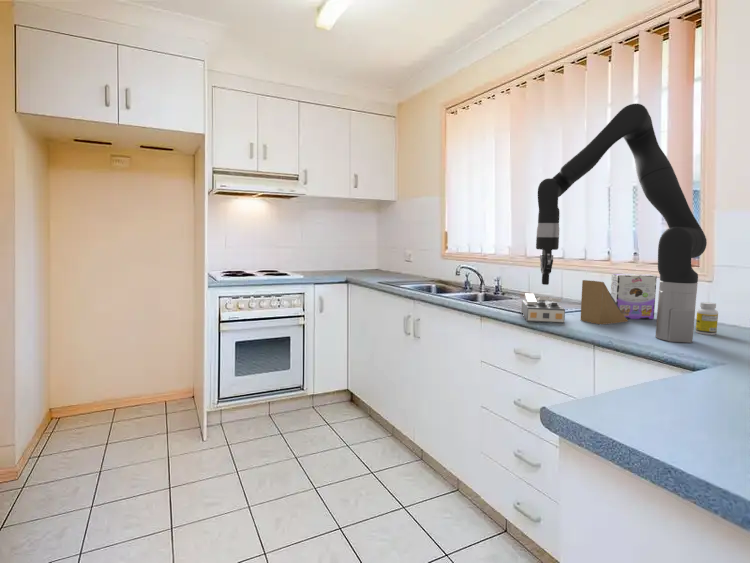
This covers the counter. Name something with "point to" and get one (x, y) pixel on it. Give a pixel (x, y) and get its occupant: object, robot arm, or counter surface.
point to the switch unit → (543, 312)
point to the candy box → (634, 294)
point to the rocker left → (530, 299)
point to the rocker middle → (542, 299)
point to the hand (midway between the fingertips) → (545, 284)
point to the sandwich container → (599, 304)
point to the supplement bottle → (707, 319)
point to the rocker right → (555, 300)
